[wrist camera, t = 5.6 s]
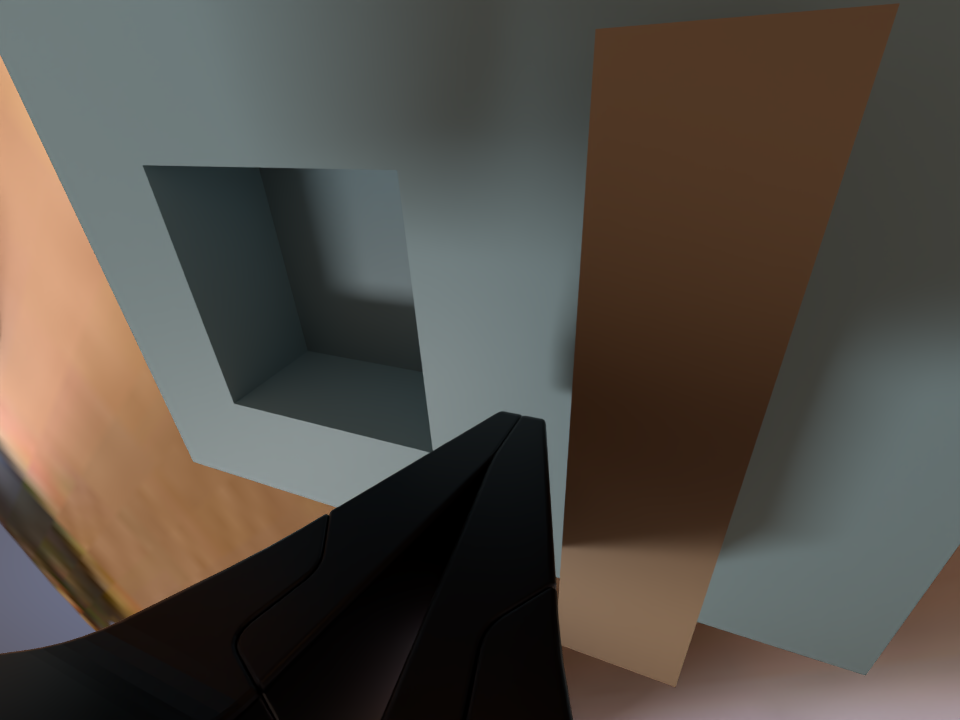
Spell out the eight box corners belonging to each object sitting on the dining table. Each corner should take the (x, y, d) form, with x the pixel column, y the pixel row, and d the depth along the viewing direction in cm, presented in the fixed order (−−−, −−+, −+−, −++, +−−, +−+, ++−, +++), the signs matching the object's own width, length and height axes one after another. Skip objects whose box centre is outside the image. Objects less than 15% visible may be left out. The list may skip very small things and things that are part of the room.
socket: (828, 533, 12) (865, 675, 9) (271, 401, 18) (193, 461, 15) (1155, -131, 6) (1576, -316, 3) (142, 13, 12) (-27, -3, 9)
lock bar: (680, 582, 9) (675, 687, 8) (579, 552, 10) (555, 643, 8) (834, 23, 5) (898, 3, 3) (627, 40, 5) (596, 28, 4)
